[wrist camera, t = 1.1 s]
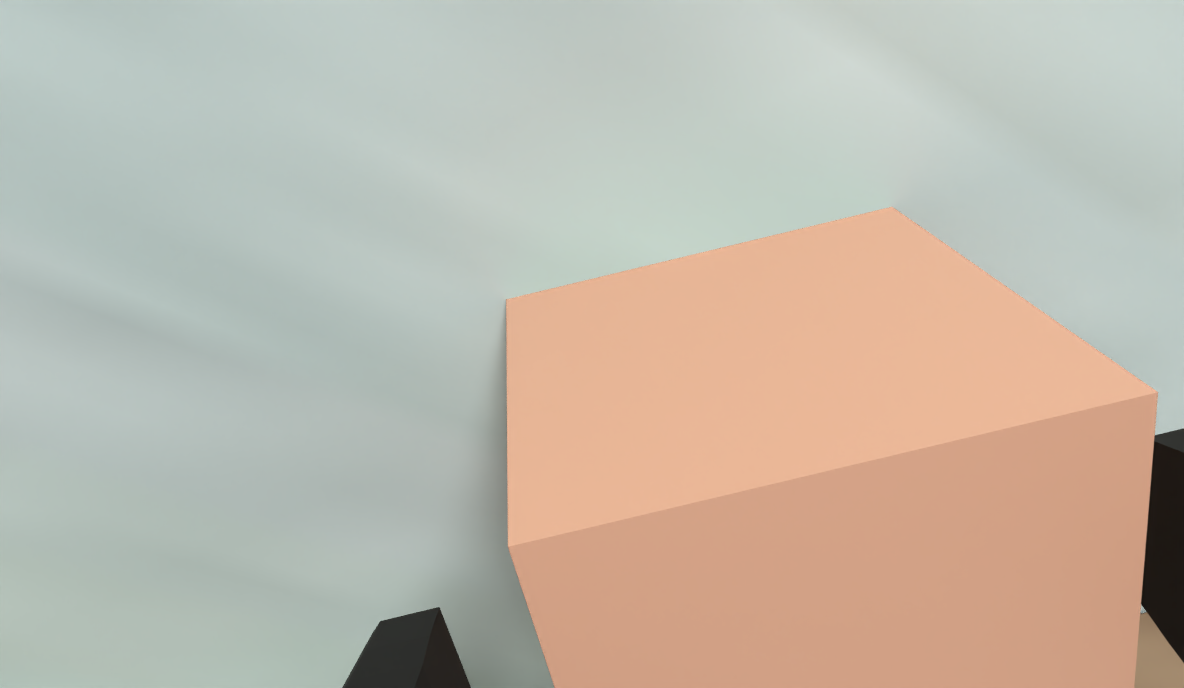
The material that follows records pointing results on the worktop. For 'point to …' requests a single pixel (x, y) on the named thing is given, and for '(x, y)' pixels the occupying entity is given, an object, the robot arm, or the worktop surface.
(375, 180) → the worktop surface
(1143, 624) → the walnut block
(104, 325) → the worktop surface
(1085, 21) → the worktop surface
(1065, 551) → the terracotta cube
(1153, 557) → the robot arm
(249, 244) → the worktop surface
